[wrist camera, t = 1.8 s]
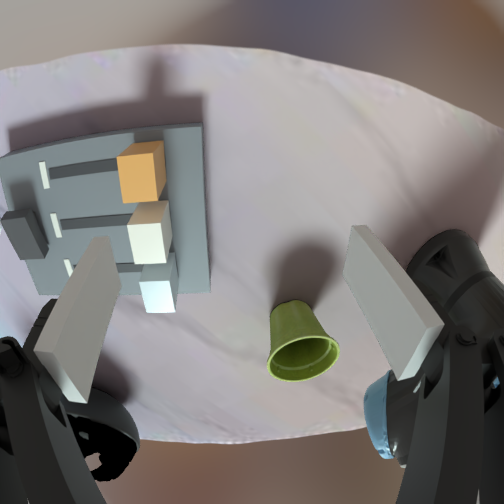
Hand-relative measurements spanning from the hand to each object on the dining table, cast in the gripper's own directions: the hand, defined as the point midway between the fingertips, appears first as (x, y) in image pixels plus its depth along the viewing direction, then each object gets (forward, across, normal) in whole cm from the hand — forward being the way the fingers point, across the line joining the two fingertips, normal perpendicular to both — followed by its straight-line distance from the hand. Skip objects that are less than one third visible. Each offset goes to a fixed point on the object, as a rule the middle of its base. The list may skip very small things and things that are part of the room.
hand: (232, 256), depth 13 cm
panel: (+20, +14, +6) cm, 25 cm away
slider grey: (+17, +7, +12) cm, 22 cm away
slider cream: (+17, +7, +6) cm, 19 cm away
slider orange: (+17, +7, 0) cm, 18 cm away
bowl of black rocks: (+20, +28, +45) cm, 57 cm away
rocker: (+15, +23, +6) cm, 28 cm away
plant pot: (+20, -9, +23) cm, 32 cm away
